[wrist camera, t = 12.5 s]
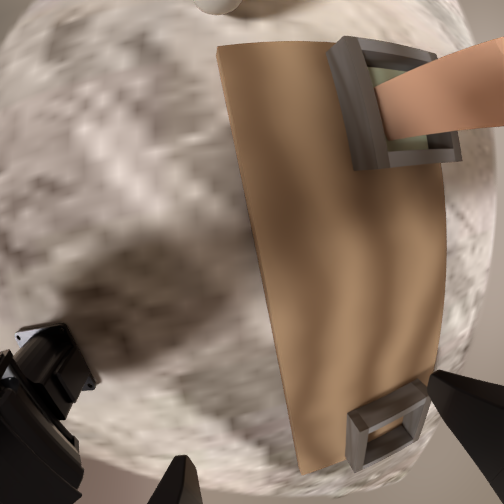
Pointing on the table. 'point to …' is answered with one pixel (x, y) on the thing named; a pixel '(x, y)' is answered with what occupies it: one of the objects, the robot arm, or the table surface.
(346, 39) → the puzzle board
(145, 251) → the table surface
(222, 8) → the donut
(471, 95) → the block
